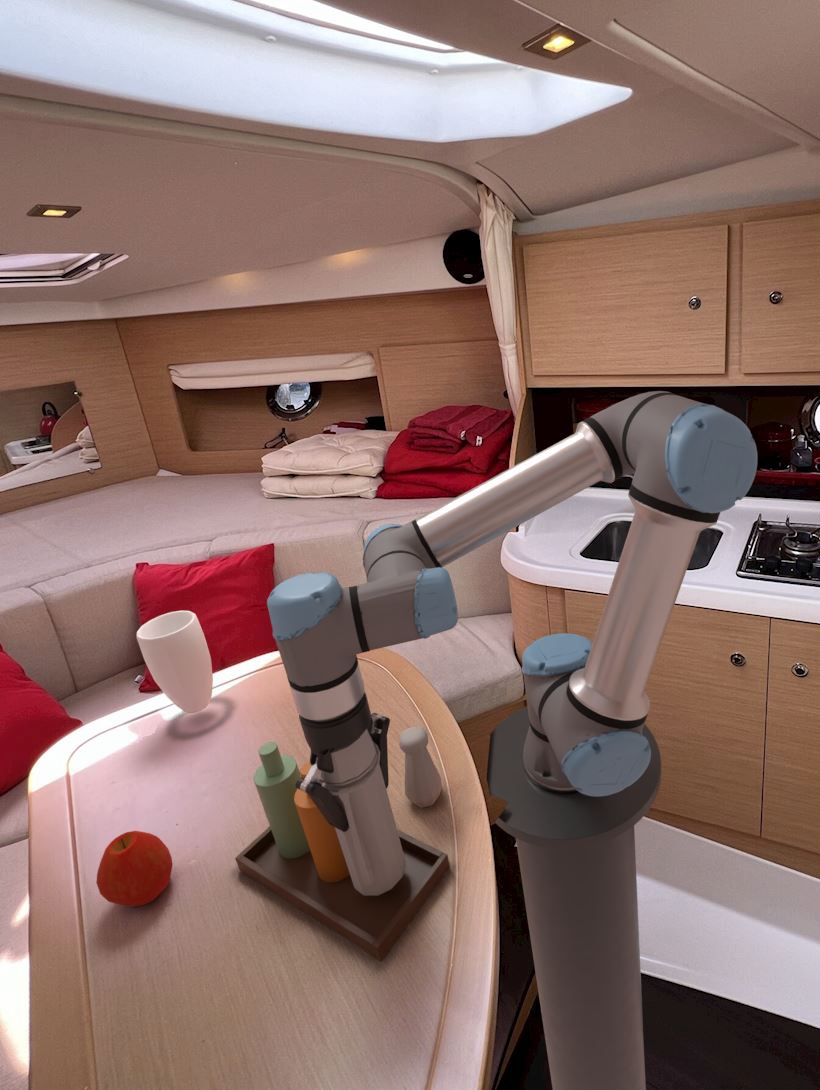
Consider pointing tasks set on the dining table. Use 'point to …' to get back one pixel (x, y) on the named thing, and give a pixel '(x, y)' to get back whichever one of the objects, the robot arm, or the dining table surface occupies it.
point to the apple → (134, 869)
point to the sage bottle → (281, 800)
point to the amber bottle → (320, 837)
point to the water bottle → (365, 817)
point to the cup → (178, 659)
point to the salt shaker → (419, 768)
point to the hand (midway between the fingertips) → (371, 846)
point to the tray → (349, 891)
